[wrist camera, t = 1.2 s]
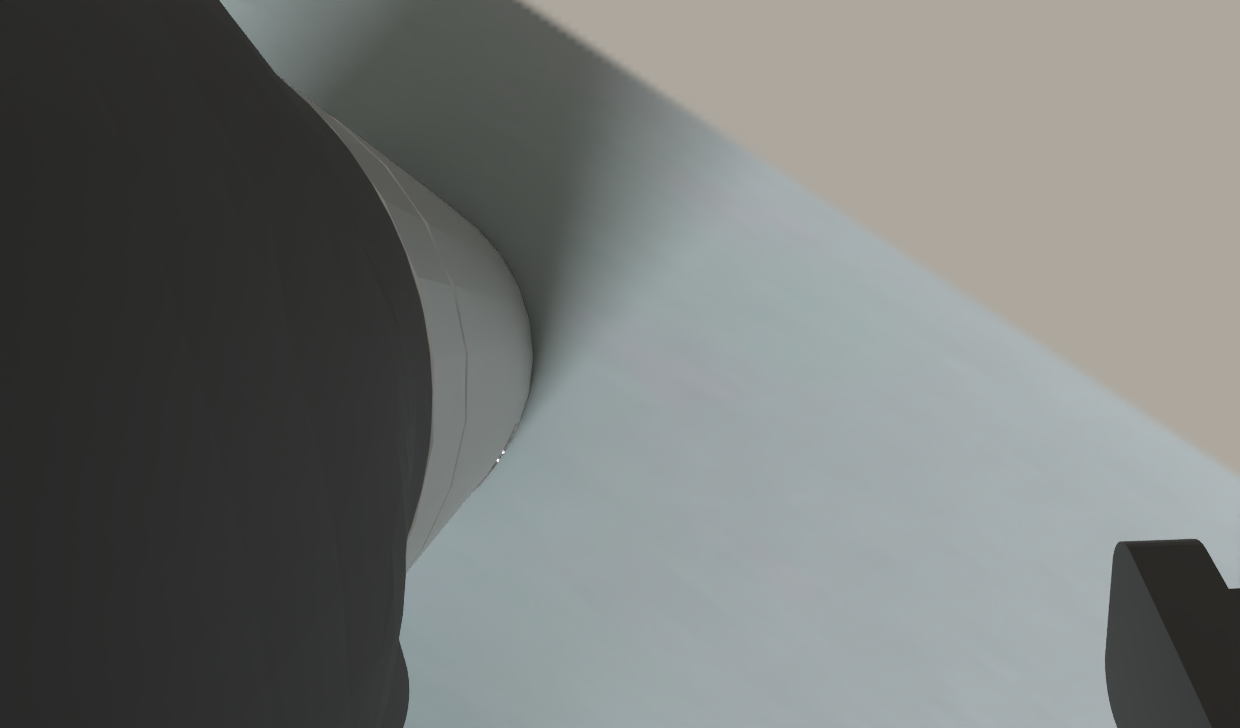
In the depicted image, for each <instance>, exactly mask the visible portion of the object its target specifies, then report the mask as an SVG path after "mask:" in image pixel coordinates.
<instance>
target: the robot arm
mask: <svg viewBox="0 0 1240 728" xmlns="http://www.w3.org/2000/svg"><path fill="white" fill-rule="evenodd" d="M532 364H533V350H532V340H531V329H530V321H529V318H528V314H527V311H526V308H525V305H524V302H523V299H522V296H521V292H520V289H519V286H518V285H517V283H516V281H515V279H514V278H513V276H512V274H511V272H510V271H509V269H508V267H507V265H506V264H505V262H504V260H503V258H502V257H501V255H500V254H499V253H498V252H497V250H496V249H495V248H494V247H493V246H492V245H491V244H490V243H489V241H488V240H487V239H486V238H485V237H484V236H483V235H482V234H481V233H480V231H479V230H478V229H477V228H476V227H475V226H473V225H472V224H471V223H470V222H468V221H467V220H466V219H464V218H463V217H462V216H461V215H459V214H458V213H457V212H456V211H455V210H453V209H452V208H451V207H450V206H449V205H447V204H446V203H445V202H444V201H443V200H441V199H440V198H439V197H437V196H436V195H435V194H433V193H432V192H431V191H429V190H428V189H427V188H426V187H424V186H423V185H422V184H420V183H419V182H418V181H416V180H415V179H414V178H413V177H411V176H410V175H409V174H407V173H406V172H405V171H403V170H402V169H401V168H399V167H398V166H397V165H396V164H394V163H393V162H392V161H390V160H389V159H388V158H386V157H385V156H384V155H383V154H381V153H380V152H379V151H377V150H376V149H375V148H373V147H372V146H371V145H369V144H368V143H367V142H366V141H364V140H363V139H362V138H360V137H359V136H358V135H356V134H355V133H354V132H353V131H351V130H350V129H349V128H347V127H346V126H345V125H343V124H342V123H341V122H339V121H338V120H337V119H335V118H334V117H332V116H330V115H329V114H327V113H326V112H325V111H323V110H322V109H321V108H319V107H318V106H317V105H315V104H314V103H313V102H311V101H310V100H309V99H308V98H306V97H305V96H304V95H302V94H301V93H300V92H298V91H297V90H296V89H294V88H293V87H292V86H290V85H289V84H288V83H286V82H285V81H284V80H283V79H281V78H280V77H279V76H277V75H276V73H275V72H274V71H273V69H272V68H271V67H270V66H269V64H268V63H267V62H266V60H265V59H264V58H263V57H262V55H261V54H260V53H259V51H258V50H257V49H256V48H255V46H254V45H253V44H252V42H251V41H250V40H249V39H248V37H247V36H246V35H245V33H244V32H243V31H242V29H241V28H240V27H239V26H238V24H237V23H236V22H235V20H234V19H233V18H232V17H231V15H230V14H229V13H228V11H227V10H226V9H225V7H224V6H223V5H222V4H221V2H220V1H219V0H0V728H403V726H404V723H405V720H406V715H407V710H408V702H409V679H408V671H407V667H406V663H405V659H404V656H403V652H402V649H401V645H400V642H399V634H400V628H401V622H402V616H403V605H404V592H405V578H406V573H407V571H408V570H409V569H410V568H411V566H412V565H413V564H414V563H415V562H416V560H417V559H418V558H419V557H420V555H421V554H422V553H423V552H424V551H425V549H426V548H427V547H428V546H429V544H430V543H431V542H432V541H433V540H434V538H435V537H436V536H437V535H438V533H439V532H440V531H441V530H442V528H443V527H444V526H445V525H446V524H447V522H448V521H449V520H450V519H451V517H452V516H453V515H454V514H455V513H456V511H457V510H458V509H459V508H460V506H461V505H462V504H463V503H464V502H465V500H466V499H467V498H468V497H469V495H470V494H471V493H472V492H473V491H474V490H475V489H476V488H477V487H478V486H479V485H480V484H481V483H482V482H483V481H484V479H485V478H486V477H487V476H488V475H489V473H490V472H491V471H492V470H493V468H494V467H495V466H496V464H497V463H498V461H499V459H500V458H501V455H503V454H504V452H505V451H506V449H507V447H508V445H509V443H510V441H511V439H512V437H513V435H514V433H515V431H516V429H517V428H518V425H519V422H520V419H521V416H522V413H523V410H524V407H525V404H526V401H527V398H528V395H529V390H530V381H531V373H532ZM1105 671H1106V683H1107V690H1108V696H1109V701H1110V705H1111V710H1112V713H1113V717H1114V720H1115V723H1116V725H1117V728H1240V588H1238V589H1228V587H1227V585H1226V583H1225V582H1224V580H1223V578H1222V576H1221V575H1220V573H1219V571H1218V569H1217V568H1216V566H1215V564H1214V562H1213V560H1212V559H1211V557H1210V555H1209V553H1208V552H1207V550H1206V548H1205V547H1204V545H1203V544H1202V543H1201V542H1200V541H1199V540H1197V539H1179V540H1151V541H1123V542H1119V543H1118V544H1117V545H1116V547H1115V550H1114V555H1113V564H1112V577H1111V589H1110V602H1109V614H1108V627H1107V639H1106V652H1105Z"/></svg>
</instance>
